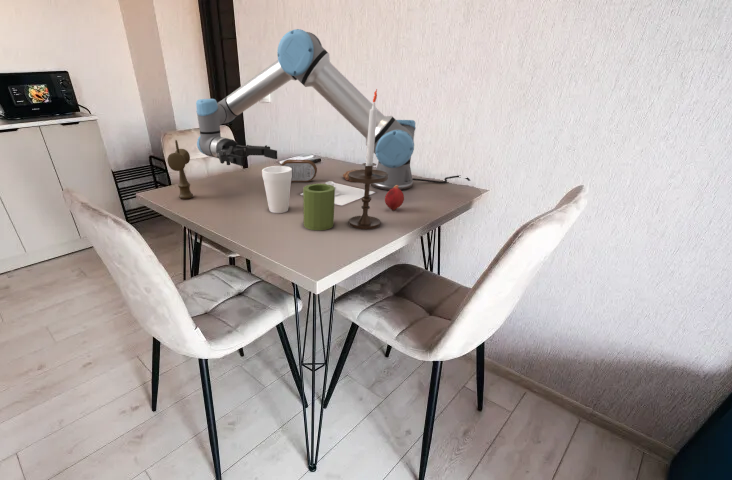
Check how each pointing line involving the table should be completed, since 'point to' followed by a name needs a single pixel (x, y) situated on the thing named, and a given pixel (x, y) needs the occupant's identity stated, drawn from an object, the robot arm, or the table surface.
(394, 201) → the onion
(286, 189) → the foam cup
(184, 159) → the kendama
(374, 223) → the candlestick
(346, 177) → the cookie
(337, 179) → the table surface
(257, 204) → the table surface
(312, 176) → the tin
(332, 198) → the thick-walled green cup
